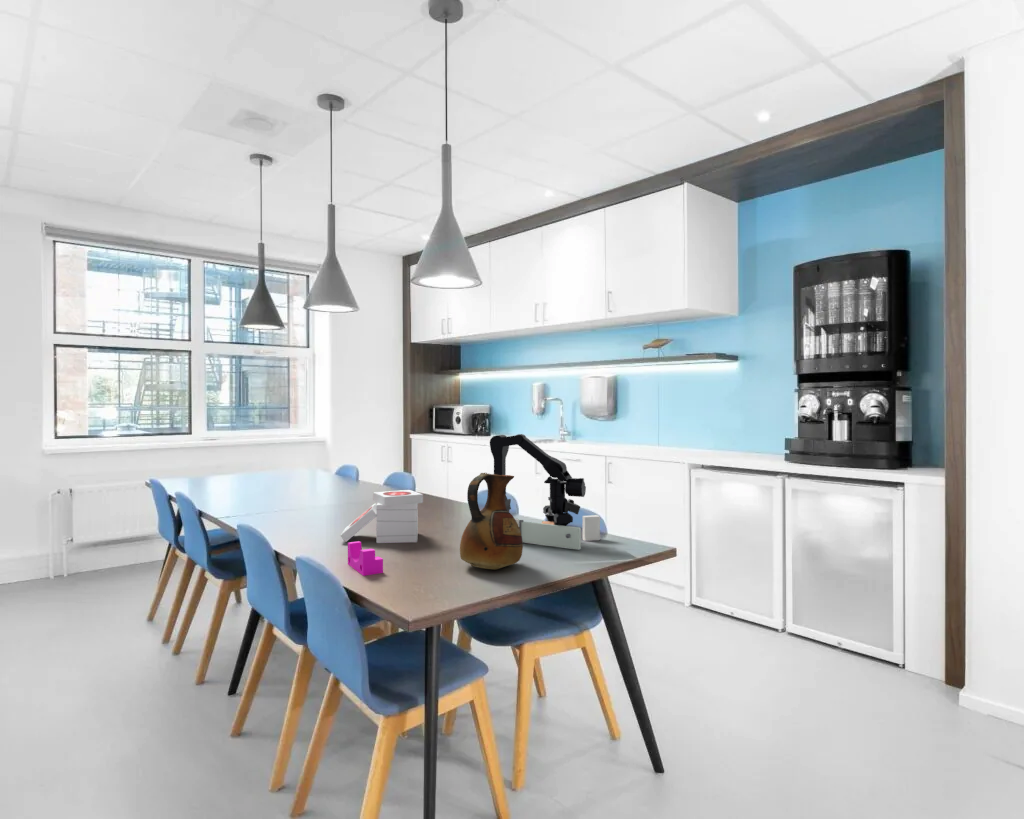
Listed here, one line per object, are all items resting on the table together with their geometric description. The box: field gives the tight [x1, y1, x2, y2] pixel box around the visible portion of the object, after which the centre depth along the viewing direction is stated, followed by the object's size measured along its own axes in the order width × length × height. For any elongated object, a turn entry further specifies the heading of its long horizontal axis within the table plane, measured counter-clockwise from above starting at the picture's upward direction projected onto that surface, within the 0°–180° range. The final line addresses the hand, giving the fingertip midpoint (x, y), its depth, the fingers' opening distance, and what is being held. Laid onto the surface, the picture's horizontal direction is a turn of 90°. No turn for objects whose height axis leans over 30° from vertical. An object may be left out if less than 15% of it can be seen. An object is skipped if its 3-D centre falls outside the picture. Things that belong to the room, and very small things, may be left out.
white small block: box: [514, 514, 601, 542], centre depth 233 cm, size 33×3×9 cm, turn 102°
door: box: [519, 519, 582, 551], centre depth 224 cm, size 25×3×8 cm, turn 59°
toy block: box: [347, 540, 384, 577], centre depth 193 cm, size 15×6×8 cm, turn 32°
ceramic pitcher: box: [459, 472, 524, 571], centre depth 196 cm, size 20×20×30 cm
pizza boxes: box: [339, 489, 424, 544], centre depth 234 cm, size 19×30×18 cm, turn 98°
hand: (557, 536), depth 231 cm, fingers closed on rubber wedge, 7 cm apart
